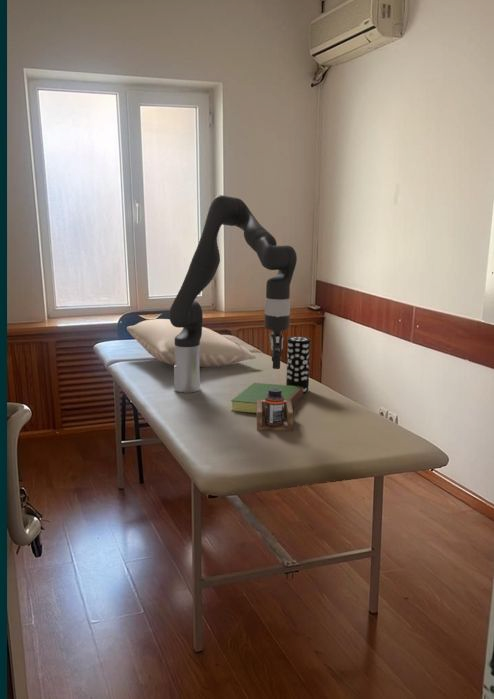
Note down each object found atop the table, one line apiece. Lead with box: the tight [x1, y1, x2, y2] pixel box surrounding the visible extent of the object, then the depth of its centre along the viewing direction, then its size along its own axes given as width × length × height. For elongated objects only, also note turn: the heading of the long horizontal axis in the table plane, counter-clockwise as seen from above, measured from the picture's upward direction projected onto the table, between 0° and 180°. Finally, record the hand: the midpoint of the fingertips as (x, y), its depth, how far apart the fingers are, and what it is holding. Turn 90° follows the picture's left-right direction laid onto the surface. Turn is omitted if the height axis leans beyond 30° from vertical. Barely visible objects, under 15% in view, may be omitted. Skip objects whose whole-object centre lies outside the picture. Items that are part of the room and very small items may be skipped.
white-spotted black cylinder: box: [285, 336, 311, 395], centre depth 227 cm, size 8×8×20 cm
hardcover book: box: [230, 382, 304, 415], centre depth 214 cm, size 25×19×4 cm
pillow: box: [126, 318, 257, 368], centre depth 265 cm, size 44×18×44 cm
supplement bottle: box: [265, 388, 284, 426], centre depth 191 cm, size 6×6×11 cm
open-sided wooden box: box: [256, 400, 294, 431], centre depth 194 cm, size 11×12×6 cm
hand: (275, 365), depth 188 cm, fingers open, 8 cm apart
